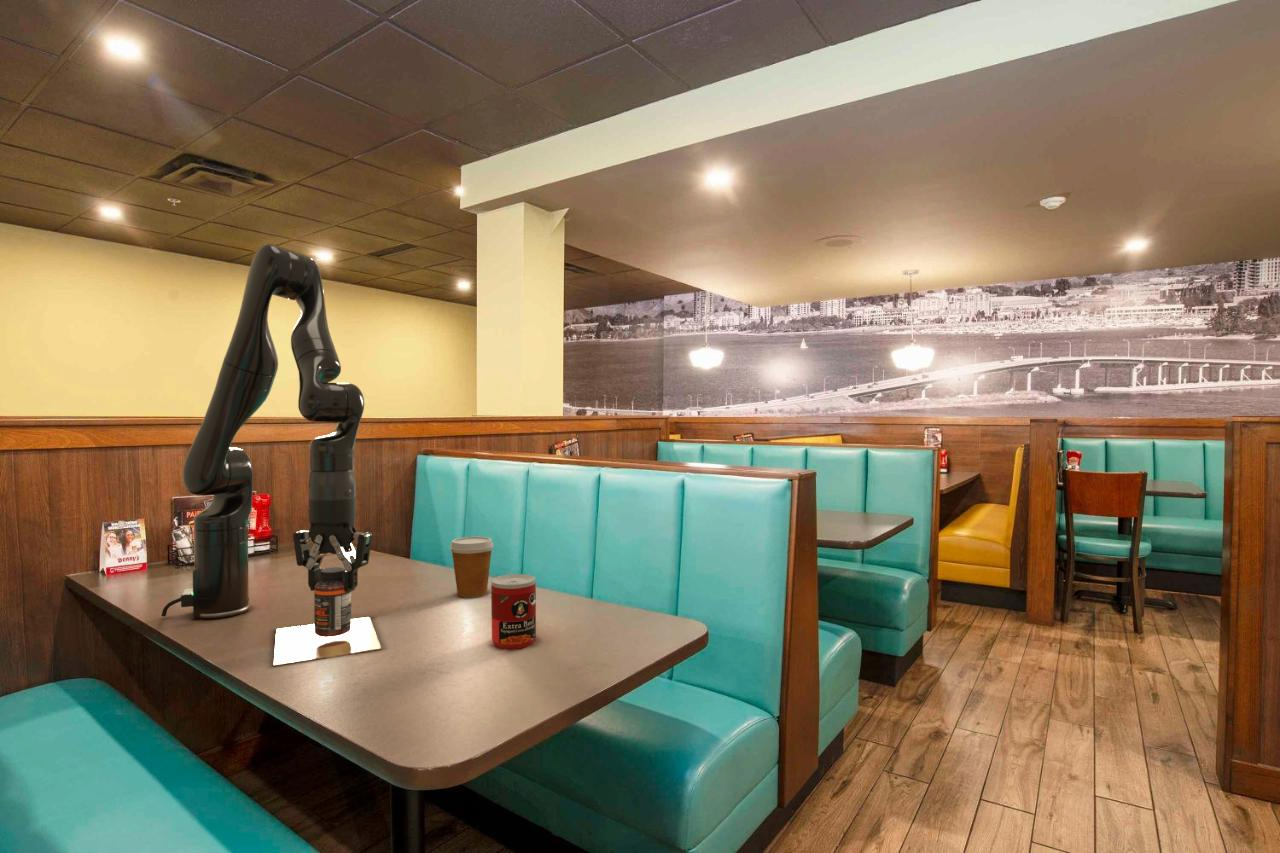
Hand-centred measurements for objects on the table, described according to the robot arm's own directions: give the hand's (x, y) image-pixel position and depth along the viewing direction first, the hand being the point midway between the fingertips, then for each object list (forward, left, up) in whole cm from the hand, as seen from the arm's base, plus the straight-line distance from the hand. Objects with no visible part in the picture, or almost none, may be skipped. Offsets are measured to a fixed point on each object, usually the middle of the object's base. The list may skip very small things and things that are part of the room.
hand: (332, 590), depth 117 cm
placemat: (-1, +1, -9) cm, 9 cm away
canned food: (+28, -16, -9) cm, 34 cm away
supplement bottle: (0, 0, -8) cm, 8 cm away
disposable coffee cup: (+29, +19, -9) cm, 36 cm away
